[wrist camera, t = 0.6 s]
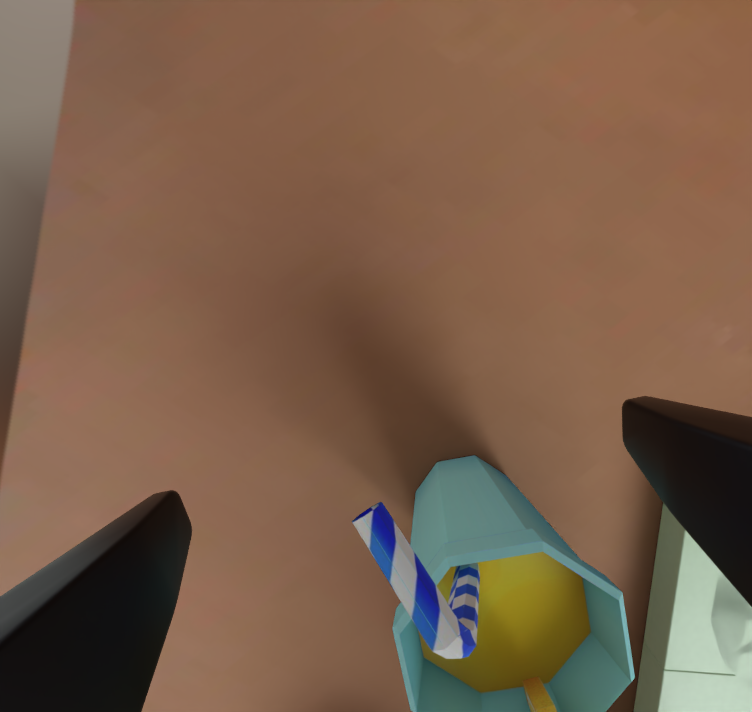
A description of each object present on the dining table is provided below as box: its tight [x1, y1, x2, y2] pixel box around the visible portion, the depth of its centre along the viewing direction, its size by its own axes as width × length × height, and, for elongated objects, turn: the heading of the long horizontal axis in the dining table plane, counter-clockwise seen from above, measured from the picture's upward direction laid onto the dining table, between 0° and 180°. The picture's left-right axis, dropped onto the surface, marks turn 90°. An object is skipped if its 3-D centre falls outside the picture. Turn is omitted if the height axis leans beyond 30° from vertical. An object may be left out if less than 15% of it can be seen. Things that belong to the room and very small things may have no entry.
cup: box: [352, 455, 635, 712], centre depth 17 cm, size 14×8×15 cm, turn 34°
